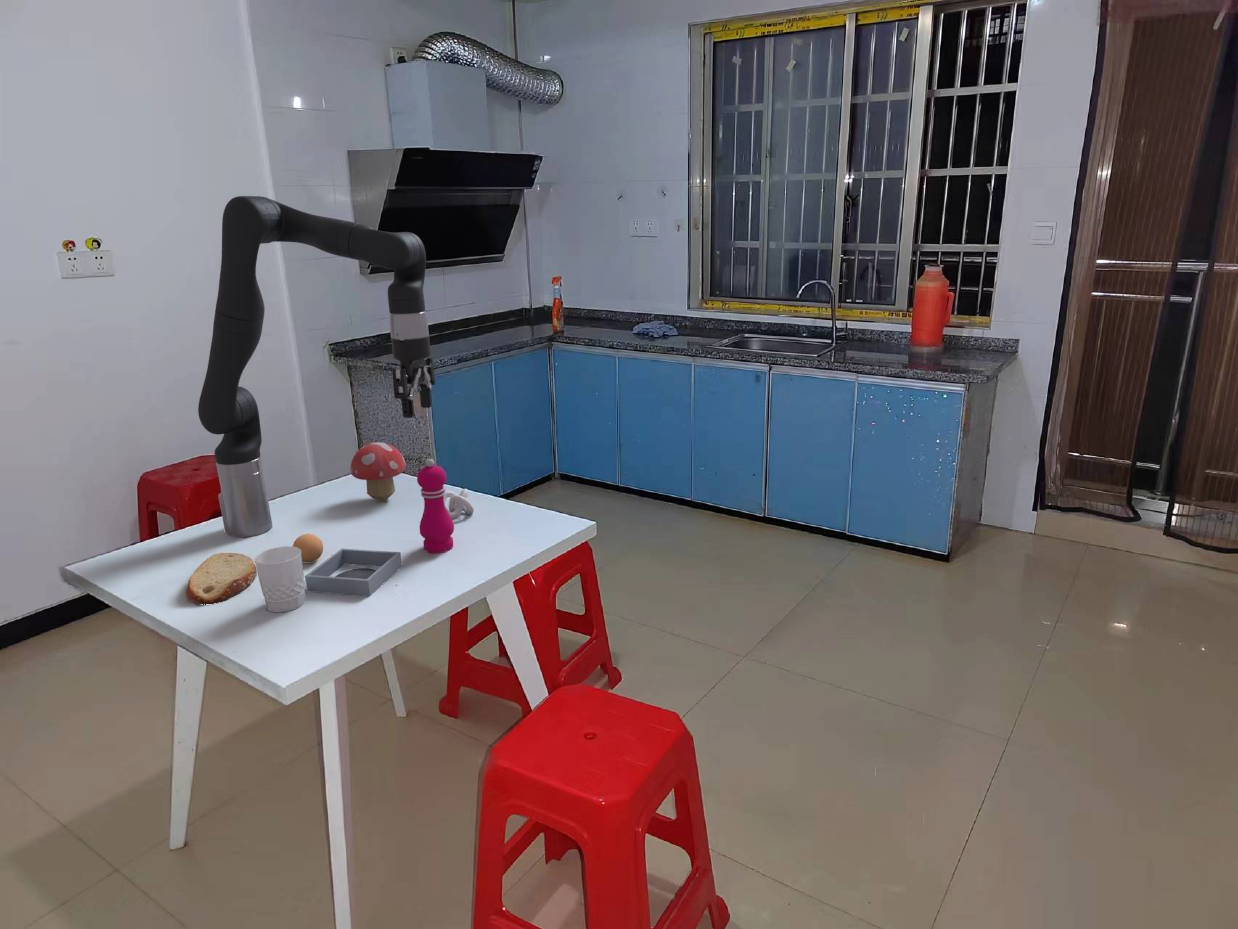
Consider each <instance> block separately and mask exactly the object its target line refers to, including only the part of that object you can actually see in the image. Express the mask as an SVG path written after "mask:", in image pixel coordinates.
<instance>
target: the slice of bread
mask: <svg viewBox="0 0 1238 929" xmlns="http://www.w3.org/2000/svg"><path fill="white" fill-rule="evenodd" d="M257 575H258V573H257V568H256V564H255V562H254V561H253V559H252V558H251V557H249V556H247V555H245V554H242V553H237V552H236V553H235V552H219V553H213V554H212V555H211V556H209V557H207V558H206V559H205V560H204V561H202V563H201V564H199V566H198V567H197V568H196V569H195V570H194V571H193V573H192V574H191V576H190V577H189V579H188V580H187V581H188V582H187V585H186V589H185V598H186V599H187V600H189V601H190V602H193V603H194V604H196V605H200V604H203V605H204V604H205V605H206V604H212V605H215V604H214V603H216V604H220V603H224V602H226V601H228V600H229V599H230V598H231V599H232V597H234V596H236V595H238V594H241V593H243V591H245V590H247V589H248V588H249V587H250V586H251V585H252V583H253V582H254V580H256V578H257V577H258V576H257ZM223 601H224V602H223ZM219 602H220V603H219Z"/></svg>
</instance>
